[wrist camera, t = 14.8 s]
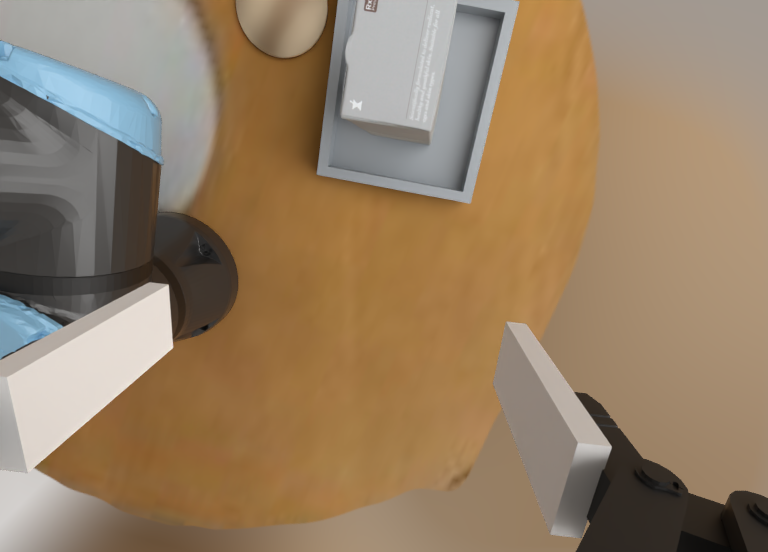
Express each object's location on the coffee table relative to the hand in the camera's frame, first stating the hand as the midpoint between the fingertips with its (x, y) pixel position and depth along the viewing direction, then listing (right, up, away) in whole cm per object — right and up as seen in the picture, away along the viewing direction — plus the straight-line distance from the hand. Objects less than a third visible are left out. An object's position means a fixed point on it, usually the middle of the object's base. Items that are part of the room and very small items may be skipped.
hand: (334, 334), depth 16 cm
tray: (+5, +21, +25) cm, 33 cm away
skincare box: (+4, +20, +25) cm, 32 cm away
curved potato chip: (-8, +29, +24) cm, 38 cm away
